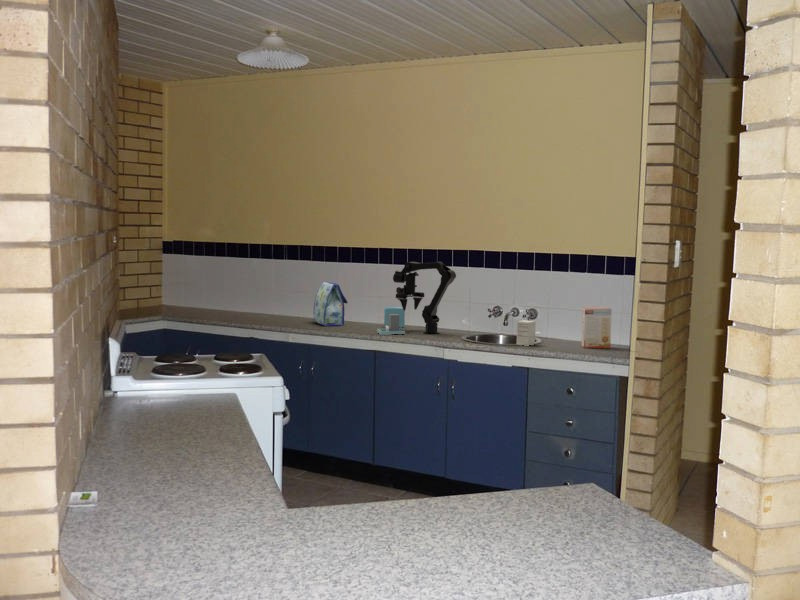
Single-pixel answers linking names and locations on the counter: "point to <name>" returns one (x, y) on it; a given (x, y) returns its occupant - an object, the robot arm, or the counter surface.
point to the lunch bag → (329, 305)
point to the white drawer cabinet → (525, 332)
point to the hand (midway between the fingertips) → (409, 310)
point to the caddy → (387, 332)
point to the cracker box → (596, 327)
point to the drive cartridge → (393, 322)
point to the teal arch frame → (394, 311)
